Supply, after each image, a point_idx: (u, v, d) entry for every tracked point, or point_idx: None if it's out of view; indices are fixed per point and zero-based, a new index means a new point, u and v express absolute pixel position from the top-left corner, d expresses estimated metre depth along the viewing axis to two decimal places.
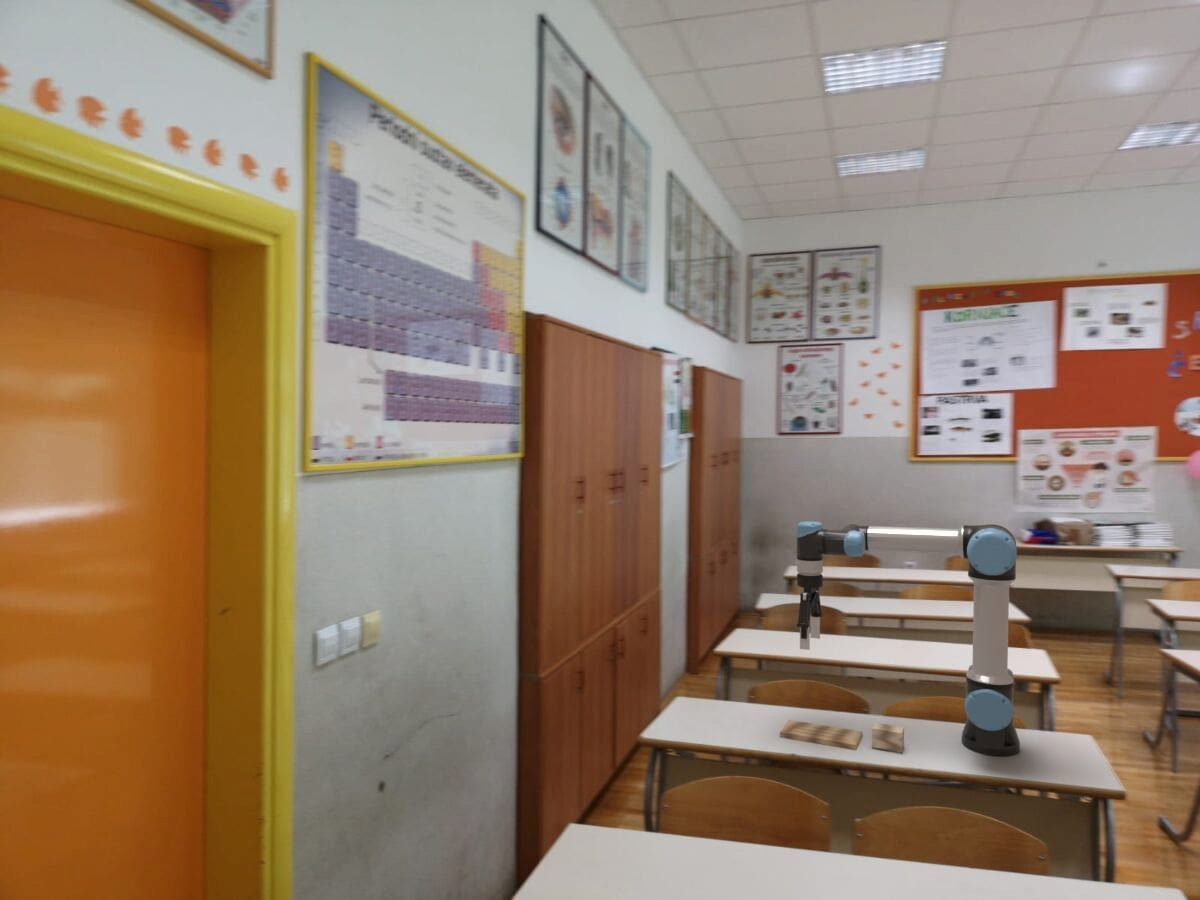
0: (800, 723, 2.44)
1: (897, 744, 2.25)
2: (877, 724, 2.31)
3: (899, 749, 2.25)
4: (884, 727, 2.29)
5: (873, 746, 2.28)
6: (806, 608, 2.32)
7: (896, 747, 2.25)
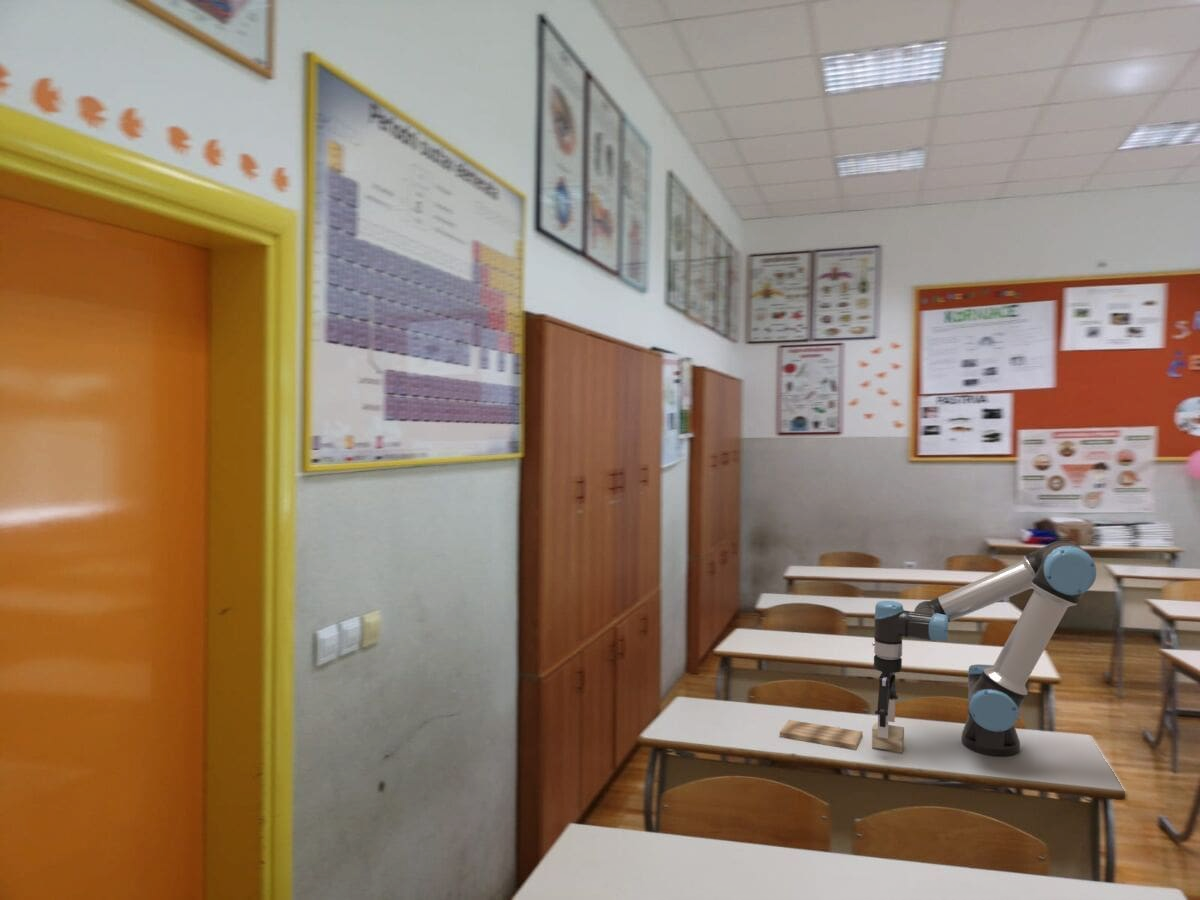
0: (800, 723, 2.44)
1: (897, 744, 2.25)
2: (877, 724, 2.31)
3: (899, 749, 2.25)
4: None
5: (873, 746, 2.28)
6: (886, 695, 2.21)
7: (896, 747, 2.25)
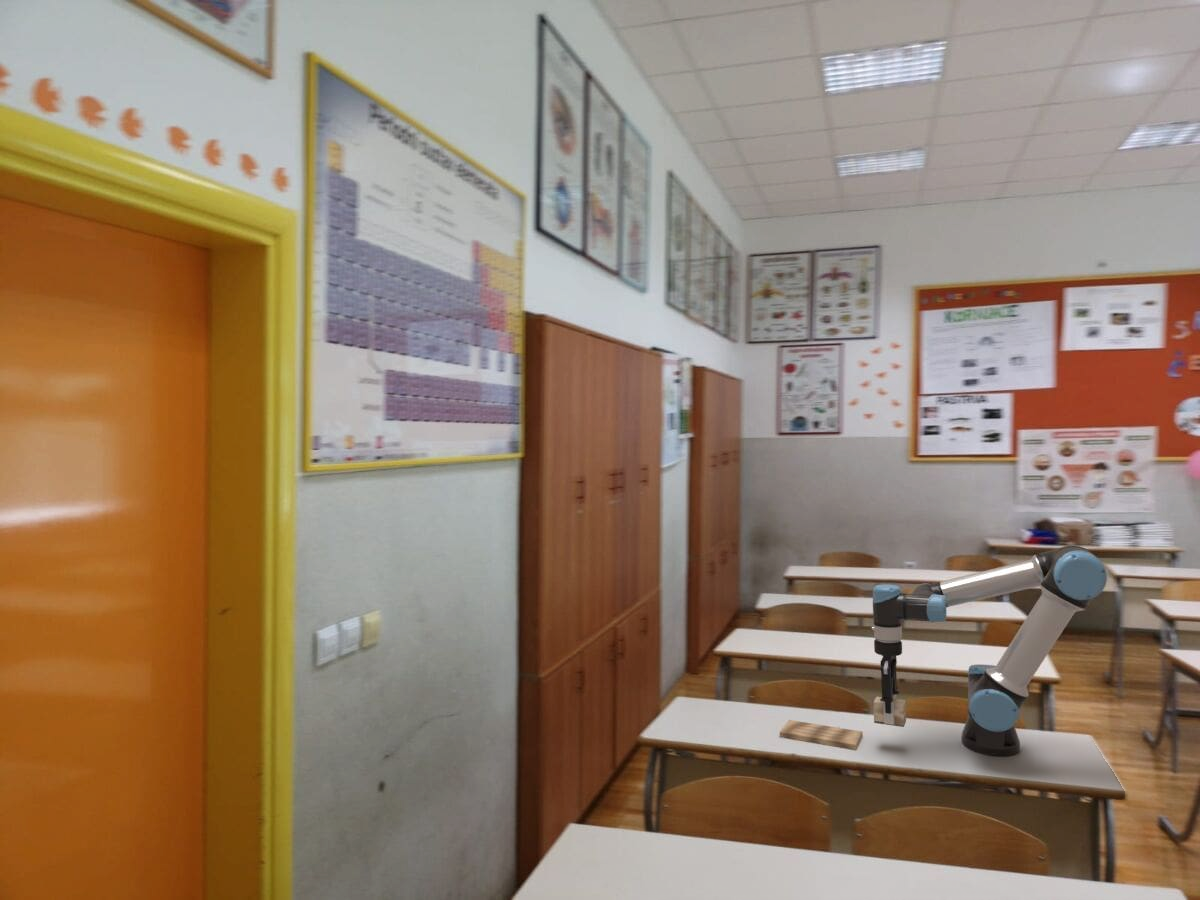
0: (800, 723, 2.44)
1: (899, 717, 2.24)
2: (879, 698, 2.31)
3: (901, 722, 2.24)
4: None
5: (875, 720, 2.28)
6: (889, 683, 2.22)
7: (898, 720, 2.25)
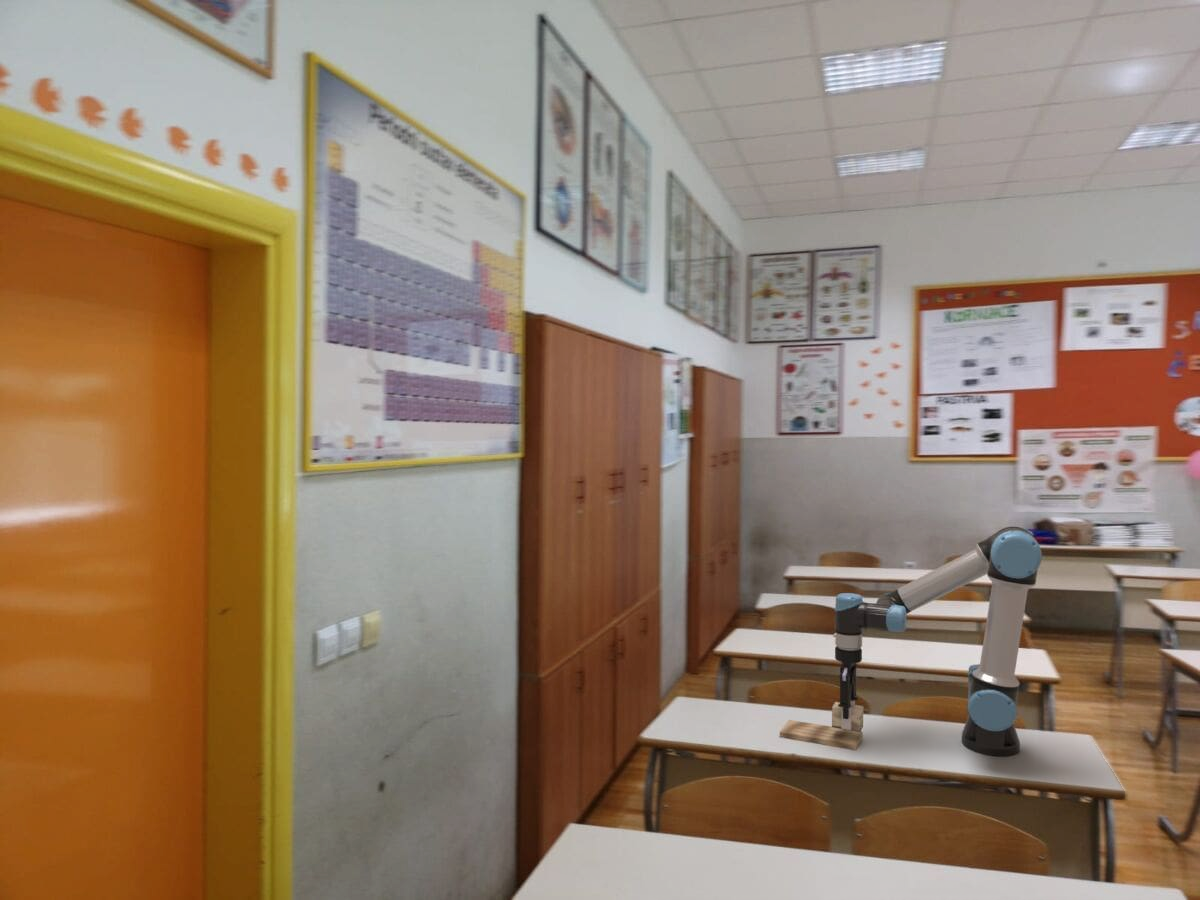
0: (800, 723, 2.44)
1: (856, 722, 2.30)
2: (837, 703, 2.36)
3: (857, 727, 2.30)
4: None
5: (833, 724, 2.33)
6: (847, 689, 2.27)
7: (855, 725, 2.30)
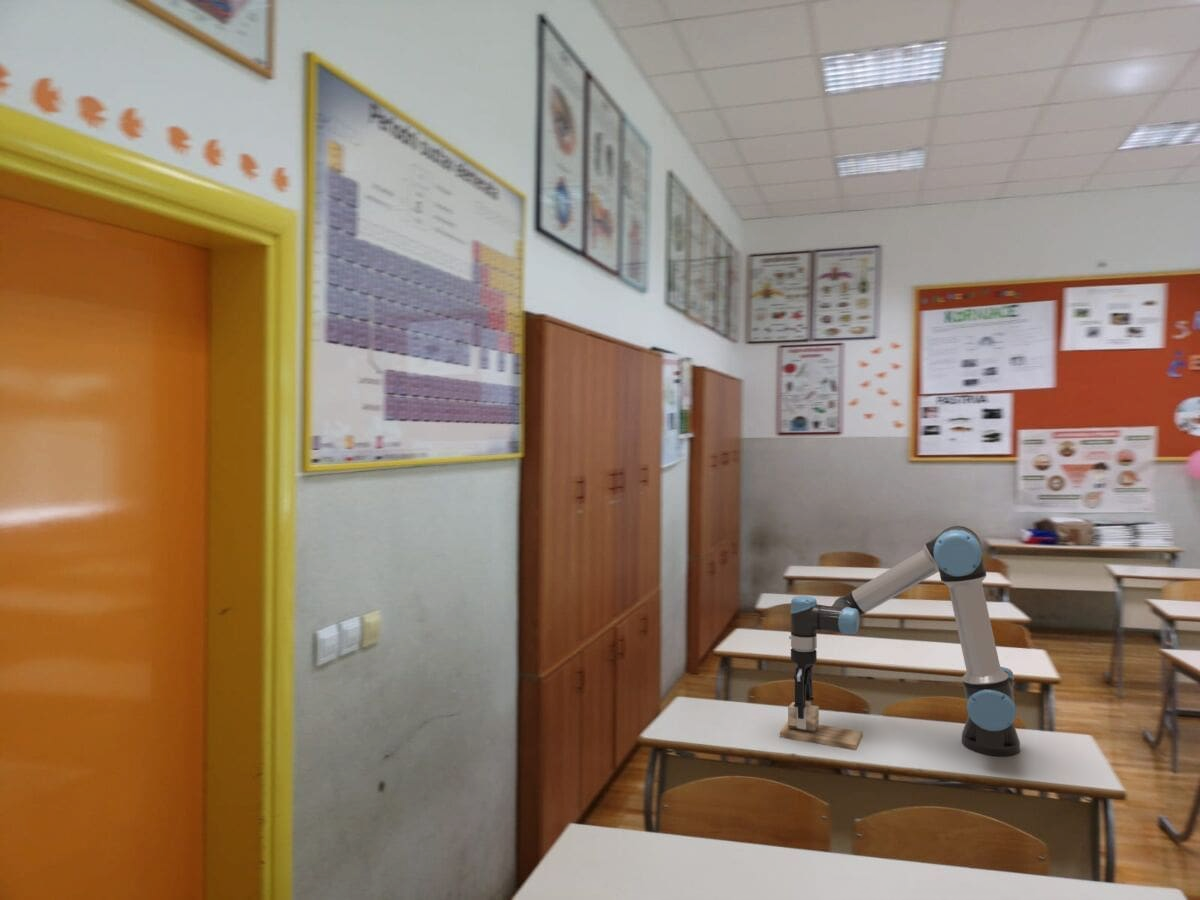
0: None
1: (811, 722, 2.36)
2: (794, 703, 2.42)
3: (812, 727, 2.36)
4: None
5: (789, 724, 2.39)
6: (801, 690, 2.33)
7: (810, 725, 2.36)
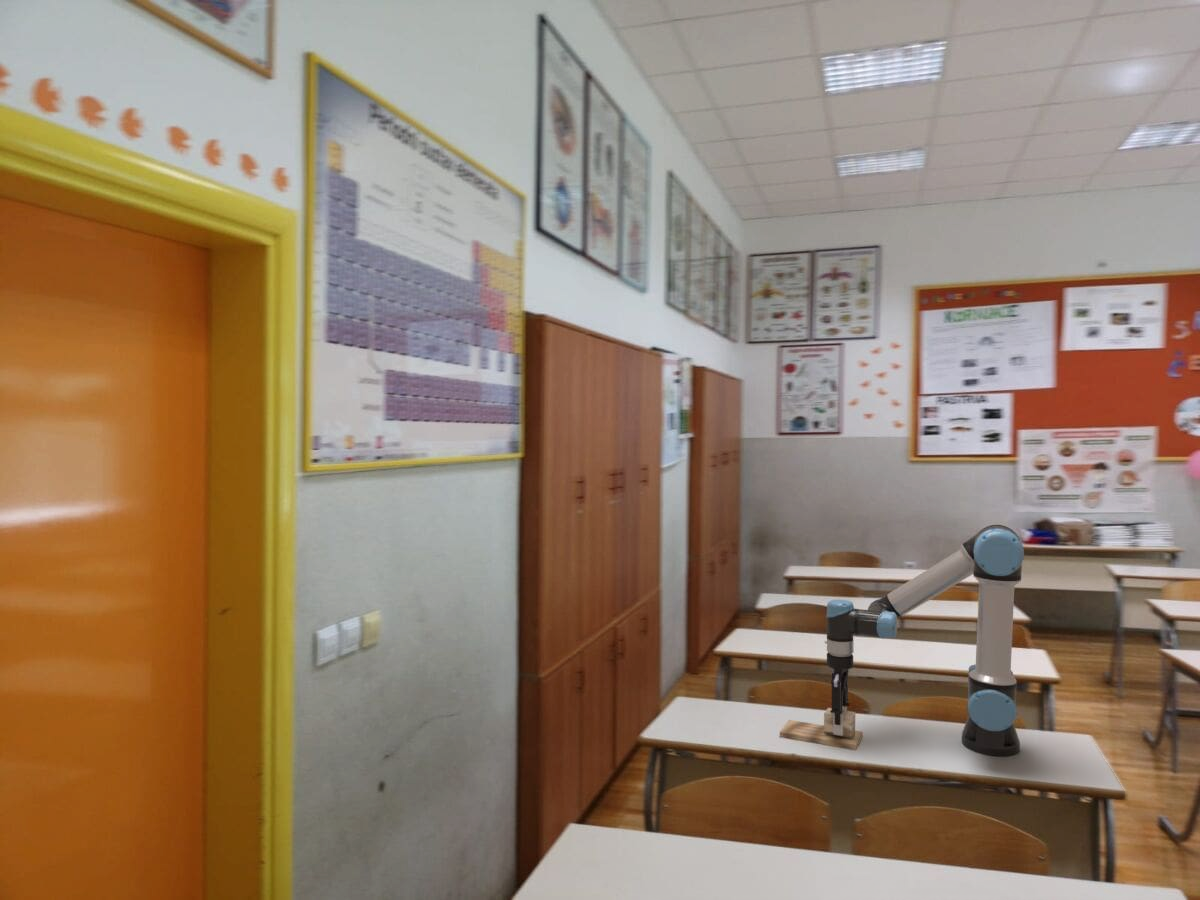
0: (800, 723, 2.44)
1: (848, 728, 2.31)
2: (830, 709, 2.37)
3: (849, 733, 2.31)
4: None
5: (825, 730, 2.34)
6: (838, 695, 2.29)
7: (847, 731, 2.31)
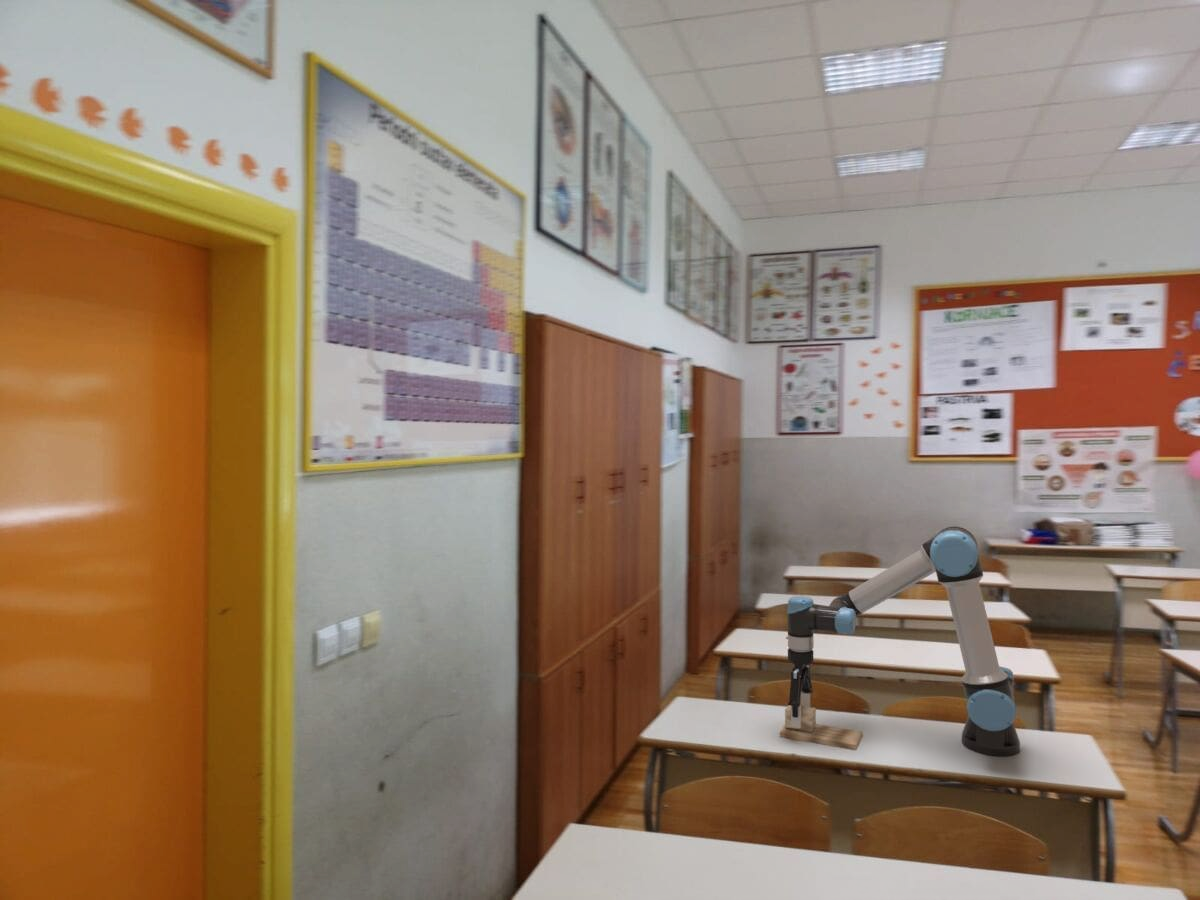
0: None
1: (808, 723, 2.36)
2: None
3: (809, 729, 2.36)
4: None
5: (786, 726, 2.40)
6: (797, 687, 2.33)
7: (807, 727, 2.37)
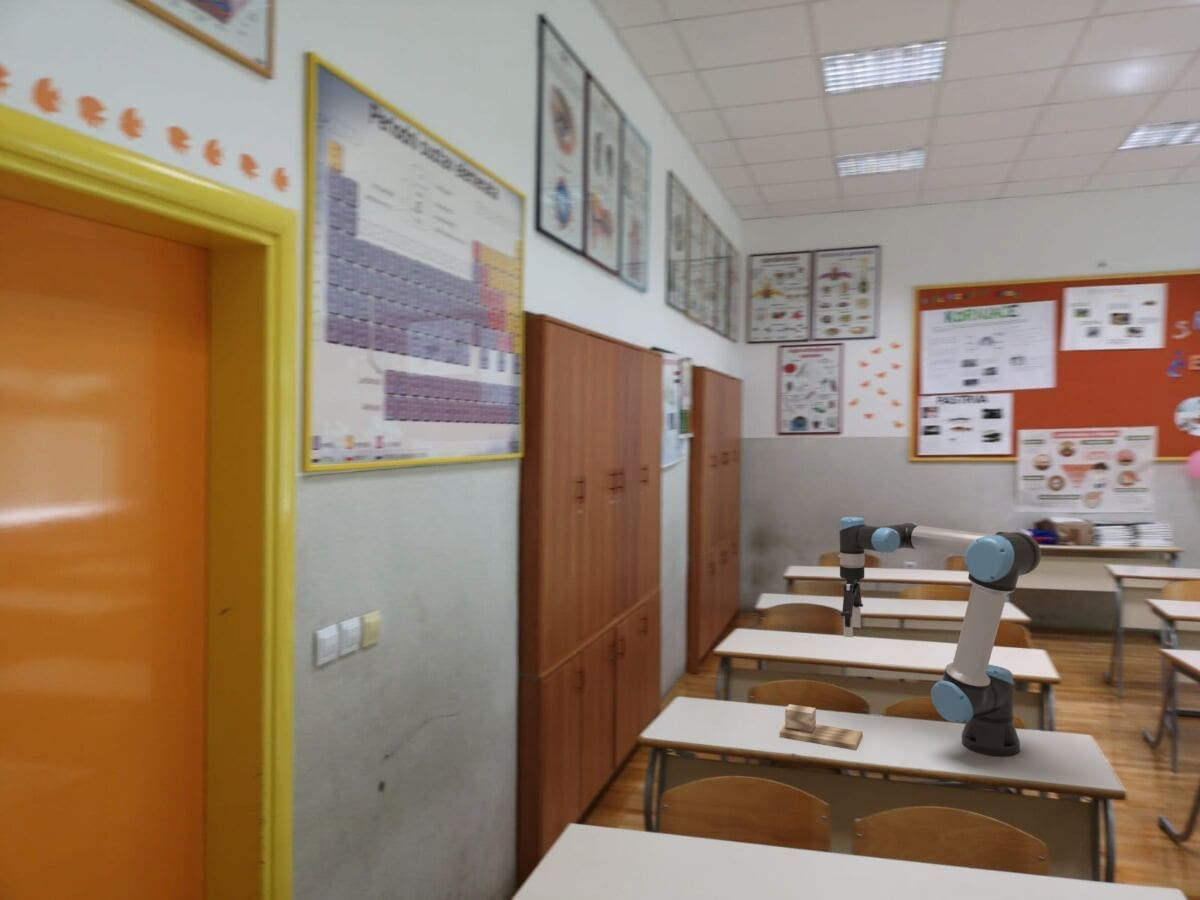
0: None
1: (808, 723, 2.36)
2: (791, 705, 2.43)
3: (809, 729, 2.36)
4: (796, 708, 2.40)
5: (786, 726, 2.40)
6: (850, 598, 2.47)
7: (807, 727, 2.37)
